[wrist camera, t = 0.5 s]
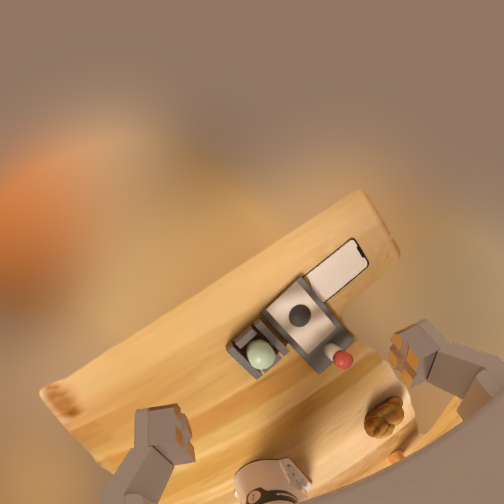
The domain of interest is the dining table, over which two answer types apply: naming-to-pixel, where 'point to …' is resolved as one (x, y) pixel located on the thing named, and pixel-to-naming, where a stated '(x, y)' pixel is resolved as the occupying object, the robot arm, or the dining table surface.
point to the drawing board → (306, 324)
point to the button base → (245, 338)
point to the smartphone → (337, 270)
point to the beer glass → (395, 457)
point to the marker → (338, 355)
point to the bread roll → (384, 418)
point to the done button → (260, 354)
